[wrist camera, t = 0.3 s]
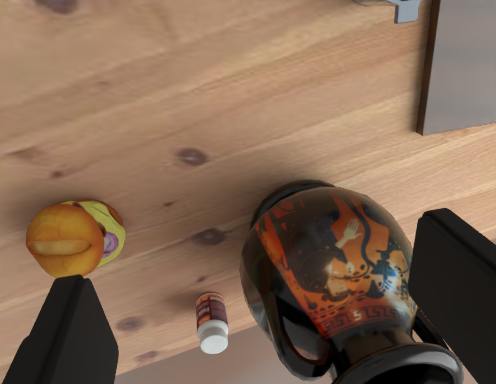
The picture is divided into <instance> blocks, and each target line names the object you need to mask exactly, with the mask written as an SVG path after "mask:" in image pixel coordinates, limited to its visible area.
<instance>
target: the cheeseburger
mask: <svg viewBox="0 0 496 384" xmlns="http://www.w3.org/2000/svg"><path fill="white" fill-rule="evenodd" d="M124 241H125V229H124V227H123V223H122V220H121V218H120V217H119V215H118V214H117V213H116V211H115V210H114V209H113V208H111V207H110V206H108V205H106V204H105V203H103V202H100V201H95V200H90V199H85V200H78V201H67V202H63V203H61V204H55V205H51V206H47V207H46V208H44V209H42V210H41V211H39V212H38V213H37V214H36V216H35V217H34V218H33V220H32V221H31V223H30V225H29V227H28V230H27V234H26V246H27V248H28V250H29V251H30V253H31V254H32V255H33V256H34V257H35V259H36V260H37V261H38V263H39V264H40V265H41V267H42V268H43V269H44V270H45V271H46V272H47V273H48V274H50V275H51V276H53V277H55V278H60V277H65V276H71V275H77V274H81V275H82V276H85V275H87V274H89V273H91V272H92V271H93V270H94V269H95V268H97V267H100V266H102V265H104V264H106V263H108V262H109V261H110V260H112V259H114V258H115V257H116V256H117V255H118V254H119V253H120V252H121V250H122V248H123V245H124Z"/></svg>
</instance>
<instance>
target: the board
mask: <svg viewBox="0 0 496 384" xmlns="http://www.w3.org/2000/svg"><path fill="white" fill-rule="evenodd" d="M492 123H496V0H433V1H432V9H431V17H430V26H429V34H428V42H427V50H426V58H425V66H424V74H423V82H422V90H421V98H420V106H419V114H418V122H417V131H416V132H417V133H419V134H420V135H422V136H423V135H429V134H435V133H440V132H446V131H452V130H457V129H463V128H469V127H475V126H480V125H486V124H492Z"/></svg>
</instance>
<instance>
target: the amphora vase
mask: <svg viewBox="0 0 496 384" xmlns="http://www.w3.org/2000/svg"><path fill="white" fill-rule="evenodd" d="M412 254H413V249H412V246H411V243H410V241H409V240H408V238H407V237H406V235H405V233H404V232H403V230H402V229H401V227H400V226H399V224H398V223H397V221H396V220H395V219H394V217H393V216H392V215H391V214H390V213H389V212H388V211H387V210H386V209H385V208H383V207H382V206H381V205H380V204H378V203H377V202H375V201H374V200H372V199H371V198H370V197H368V196H367V195H364V194H361V193H357V192H354V191H351V190H347V189H344V188H341V187H335V186H334V185H332V184H329V183H326V182H323V181H317V180H304V181H299V182H295V183H290V184H288V185H286V186H284V187H282V188H279V189H277V190H276V191H274V192H273V193H272V194H271V195H269V196H268V197H267V198H266V199H264V201H263V202H262V203H261V204H260V206H259V207H258V208H257V209H256V211H255V213H254V216H253V218H252V220H251V222H250V229H249V235H248V237H247V240H246V242H245V244H244V247H243V250H242V254H241V262H240V276H241V283H242V288H243V293H244V297H245V301H246V303H247V305H248V307H249V309H250V311H251V314H252V315H253V317H254V319H255V320H256V322H257V323H258V325H259V326H260V328H261V329H262V331H263V332H264V333H265V335H266V336H267V337H268V338H269V339H270V340H271V341H272V342H273V345H274V347H275V349H276V352H277V354H278V357H279V359H280V361H281V362H282V363H283V364H284V365H285V367H286V368H287V369H288V370H289V371H290V372H291V374H292V375H294V376H296V377H298V378H300V379H301V380H304V381H314V380H317V379H319V378H321V377H322V376H323V375H324V374H325V373H327V374H328V375H329V376H330V377H331V379H332V383H331V384H463V380H464V373H463V367H462V364H461V362H460V361H459V359H458V358H457V357H456V356H455V355H454V354H453V353H452V352H451V351H450V350H449V348H448V347H447V345H446V343H445V342H444V340H443V338H442V337H441V335H440V334H439V333H438V332H437V330H436V329H435V328H434V327H433V325H432V324H431V323H430V322H429V320H428V319H427V318H426V317H425V315H424V314H423V313H422V312H421V310H420V309H419V308H418V306H417V305H416V303H415V302H414V301H413V300H412V298H411V297H410V295H409V292H408V288H407V284H408V278H409V272H410V266H411V260H412ZM413 330H414V331H415V332H416V333H417V335H418V336H419V337H420V338H421V340H422V341H423V342H424V343H423V342H415V340H414V339H413V337H412V331H413Z"/></svg>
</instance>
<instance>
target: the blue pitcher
mask: <svg viewBox="0 0 496 384" xmlns="http://www.w3.org/2000/svg"><path fill="white" fill-rule="evenodd" d="M353 1H354V2H356V3H359V4H362V5H365V6H395V19H394V23H395V24H399V23H405V22H412V21H417V19H418V9H419V3H420V2H421V1H423V0H353Z"/></svg>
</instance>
